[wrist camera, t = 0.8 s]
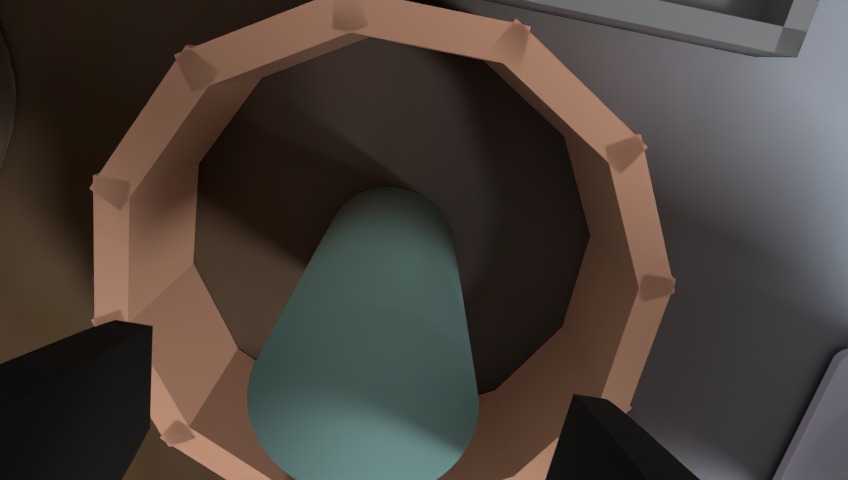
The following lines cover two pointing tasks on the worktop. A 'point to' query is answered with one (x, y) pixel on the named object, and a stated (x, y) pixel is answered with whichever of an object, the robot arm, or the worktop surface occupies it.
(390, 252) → the peg
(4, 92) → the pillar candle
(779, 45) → the tray
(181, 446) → the tan faceted hollow ring
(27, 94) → the worktop surface
